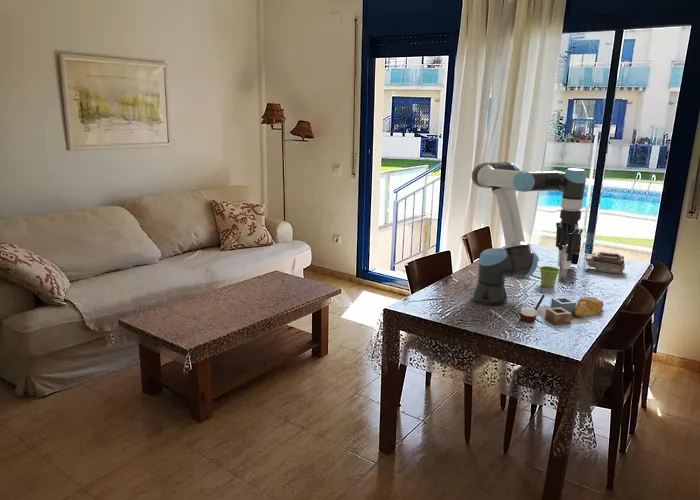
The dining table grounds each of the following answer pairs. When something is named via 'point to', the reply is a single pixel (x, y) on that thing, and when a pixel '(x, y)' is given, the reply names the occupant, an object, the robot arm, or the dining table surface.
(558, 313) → the mount
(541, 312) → the board
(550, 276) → the plant pot
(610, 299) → the dining table surface
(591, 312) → the croissant
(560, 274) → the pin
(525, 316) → the cocoa
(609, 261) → the olive toy tank
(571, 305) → the socket
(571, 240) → the robot arm
